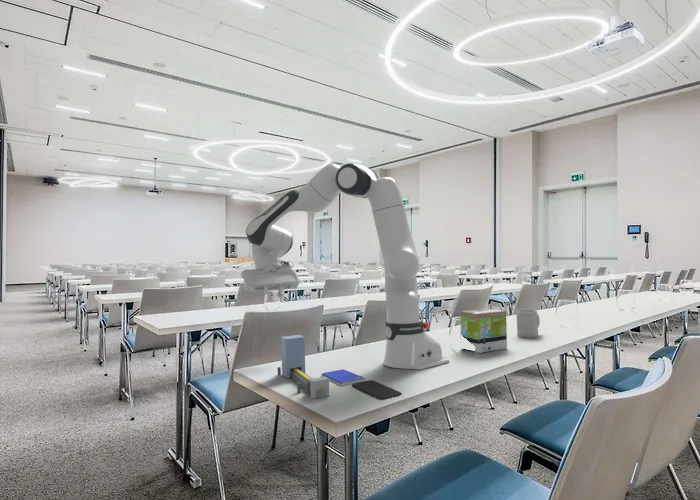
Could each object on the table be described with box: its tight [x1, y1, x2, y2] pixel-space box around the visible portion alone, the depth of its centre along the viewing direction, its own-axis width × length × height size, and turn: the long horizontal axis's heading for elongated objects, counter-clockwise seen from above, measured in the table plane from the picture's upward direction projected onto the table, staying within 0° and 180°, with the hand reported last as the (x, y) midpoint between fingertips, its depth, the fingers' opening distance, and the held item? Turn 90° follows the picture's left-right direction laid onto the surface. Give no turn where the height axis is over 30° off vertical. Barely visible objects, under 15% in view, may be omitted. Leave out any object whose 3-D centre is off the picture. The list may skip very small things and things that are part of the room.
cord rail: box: [277, 366, 330, 399], centre depth 120 cm, size 8×28×4 cm, turn 25°
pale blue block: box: [280, 334, 306, 379], centre depth 129 cm, size 6×5×12 cm
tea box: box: [459, 308, 508, 354], centre depth 159 cm, size 15×10×15 cm
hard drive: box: [321, 368, 367, 387], centre depth 124 cm, size 2×8×12 cm
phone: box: [351, 379, 403, 401], centre depth 112 cm, size 7×1×15 cm
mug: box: [515, 309, 541, 339], centre depth 183 cm, size 12×8×11 cm
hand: (275, 296), depth 147 cm, fingers open, 2 cm apart
